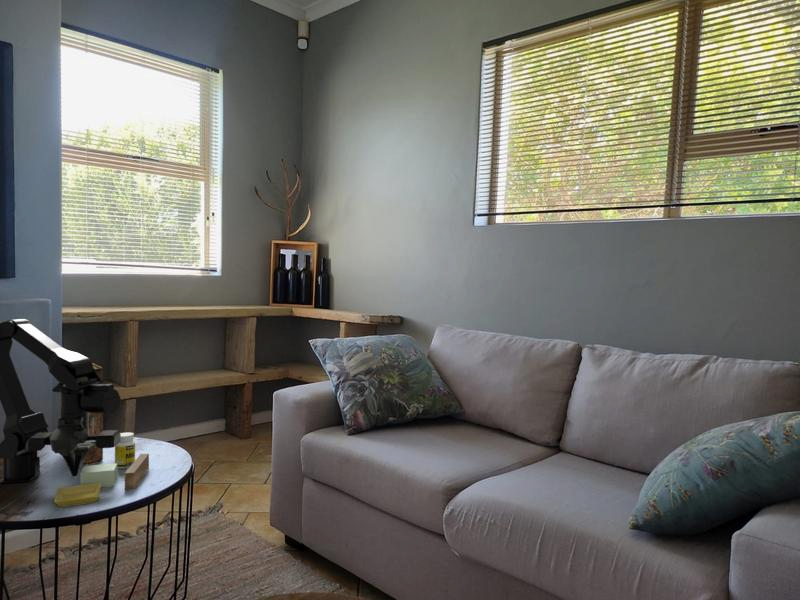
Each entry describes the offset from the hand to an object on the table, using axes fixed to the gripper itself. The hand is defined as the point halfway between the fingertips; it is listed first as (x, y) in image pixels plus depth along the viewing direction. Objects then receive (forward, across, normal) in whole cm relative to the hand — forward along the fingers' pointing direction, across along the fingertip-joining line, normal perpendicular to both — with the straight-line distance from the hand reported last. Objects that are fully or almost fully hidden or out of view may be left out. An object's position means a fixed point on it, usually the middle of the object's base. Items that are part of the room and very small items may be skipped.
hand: (75, 476), depth 134 cm
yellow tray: (+3, +4, -9) cm, 10 cm away
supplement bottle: (+2, +8, +12) cm, 15 cm away
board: (+2, +13, +2) cm, 14 cm away
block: (+2, +5, 0) cm, 6 cm away
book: (+2, -5, +22) cm, 23 cm away
